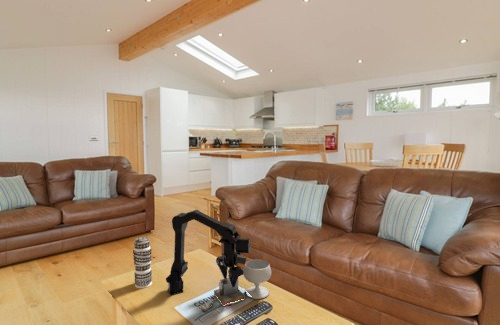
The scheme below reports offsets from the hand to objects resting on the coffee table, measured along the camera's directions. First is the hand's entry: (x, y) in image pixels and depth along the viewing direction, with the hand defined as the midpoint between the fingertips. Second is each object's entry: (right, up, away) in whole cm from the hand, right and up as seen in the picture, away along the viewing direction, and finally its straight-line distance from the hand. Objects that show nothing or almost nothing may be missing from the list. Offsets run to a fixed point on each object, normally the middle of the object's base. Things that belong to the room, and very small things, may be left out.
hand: (229, 282), depth 140 cm
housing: (0, -5, +1) cm, 5 cm away
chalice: (+13, -7, +5) cm, 16 cm away
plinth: (0, -8, +1) cm, 8 cm away
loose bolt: (-9, -8, -8) cm, 15 cm away
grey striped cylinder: (-46, -7, +14) cm, 49 cm away
